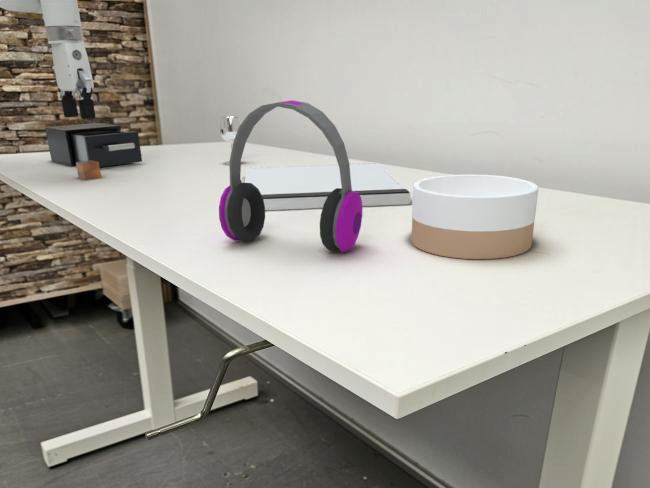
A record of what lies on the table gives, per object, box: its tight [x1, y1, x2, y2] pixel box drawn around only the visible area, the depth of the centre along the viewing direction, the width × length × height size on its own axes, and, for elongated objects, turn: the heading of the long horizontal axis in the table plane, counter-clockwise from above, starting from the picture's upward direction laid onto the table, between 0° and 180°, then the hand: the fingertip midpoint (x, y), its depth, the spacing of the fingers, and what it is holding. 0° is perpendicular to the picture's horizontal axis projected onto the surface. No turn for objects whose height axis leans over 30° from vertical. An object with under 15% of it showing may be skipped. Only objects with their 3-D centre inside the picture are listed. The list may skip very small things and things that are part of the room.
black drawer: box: [69, 130, 143, 168], centre depth 162 cm, size 18×14×8 cm
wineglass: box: [219, 115, 243, 166], centre depth 160 cm, size 6×6×12 cm
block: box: [75, 160, 102, 181], centre depth 146 cm, size 4×4×4 cm
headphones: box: [218, 99, 364, 253], centre depth 85 cm, size 21×9×20 cm, turn 66°
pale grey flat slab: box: [243, 162, 412, 211], centre depth 127 cm, size 35×2×31 cm
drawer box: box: [44, 122, 122, 168], centre depth 172 cm, size 15×16×10 cm
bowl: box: [411, 174, 539, 260], centre depth 87 cm, size 17×17×8 cm
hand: (79, 117), depth 141 cm, fingers open, 9 cm apart
